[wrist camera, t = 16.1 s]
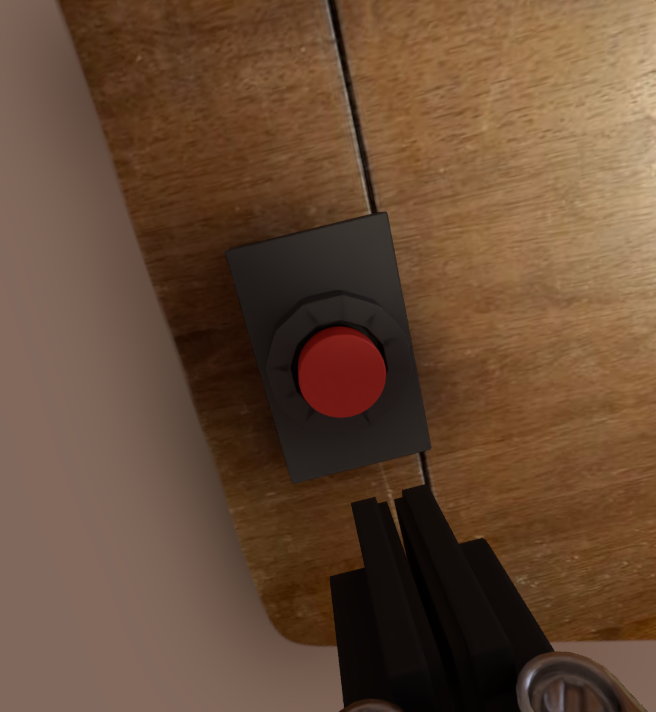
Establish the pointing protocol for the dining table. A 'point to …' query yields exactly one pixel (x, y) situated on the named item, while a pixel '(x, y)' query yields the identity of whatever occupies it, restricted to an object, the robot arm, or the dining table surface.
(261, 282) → the button box
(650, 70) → the dining table surface
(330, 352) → the button
